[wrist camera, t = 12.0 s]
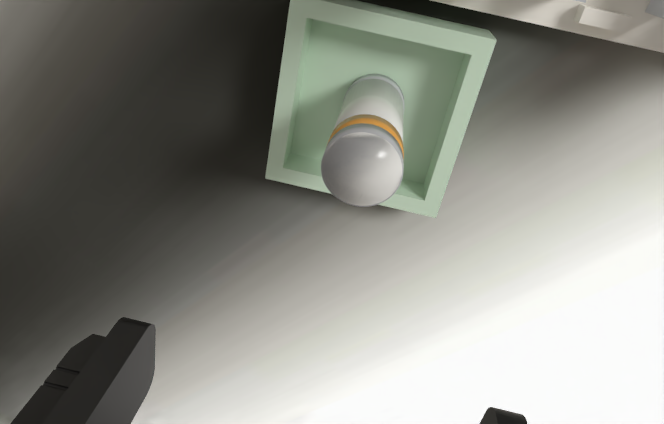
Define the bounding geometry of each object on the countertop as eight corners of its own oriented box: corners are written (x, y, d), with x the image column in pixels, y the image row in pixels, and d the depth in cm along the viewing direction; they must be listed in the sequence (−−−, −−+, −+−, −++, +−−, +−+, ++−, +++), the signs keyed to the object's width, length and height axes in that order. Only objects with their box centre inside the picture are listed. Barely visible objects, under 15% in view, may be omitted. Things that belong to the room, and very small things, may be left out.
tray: (301, -13, 30) (291, -7, 27) (488, 29, 29) (496, 40, 27) (275, 159, 35) (265, 178, 33) (433, 196, 35) (435, 218, 32)
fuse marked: (338, 125, 33) (314, 196, 24) (351, 67, 31) (329, 122, 22) (396, 138, 33) (391, 214, 24) (411, 81, 31) (413, 141, 22)
